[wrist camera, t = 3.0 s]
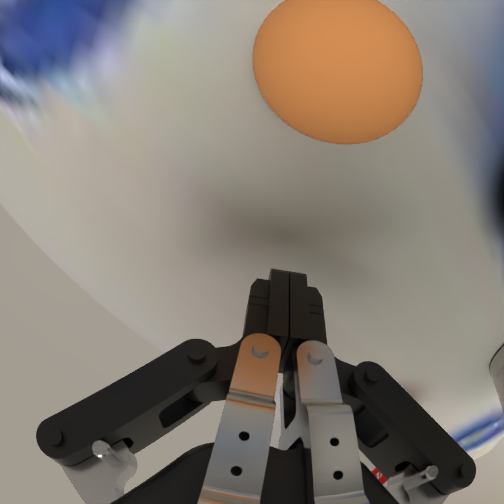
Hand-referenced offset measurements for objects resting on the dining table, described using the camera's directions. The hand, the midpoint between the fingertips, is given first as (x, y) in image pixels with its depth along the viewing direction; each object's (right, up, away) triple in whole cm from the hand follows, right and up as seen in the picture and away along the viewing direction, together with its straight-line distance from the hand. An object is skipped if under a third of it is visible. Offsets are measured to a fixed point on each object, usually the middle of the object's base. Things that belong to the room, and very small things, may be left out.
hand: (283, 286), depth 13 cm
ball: (+2, +8, -4) cm, 9 cm away
